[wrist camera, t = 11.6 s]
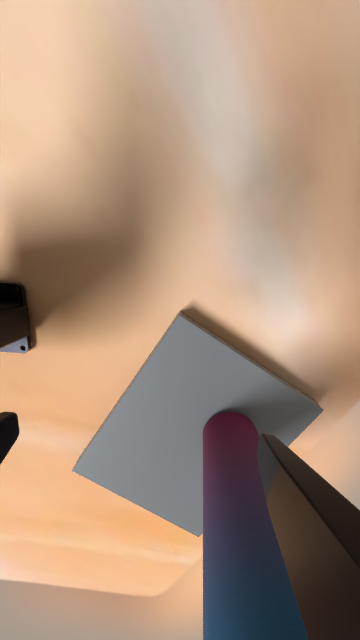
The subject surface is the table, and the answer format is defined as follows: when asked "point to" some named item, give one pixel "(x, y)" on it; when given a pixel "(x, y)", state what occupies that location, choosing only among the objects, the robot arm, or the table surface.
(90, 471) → the board
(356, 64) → the table surface
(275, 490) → the robot arm
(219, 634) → the cup
